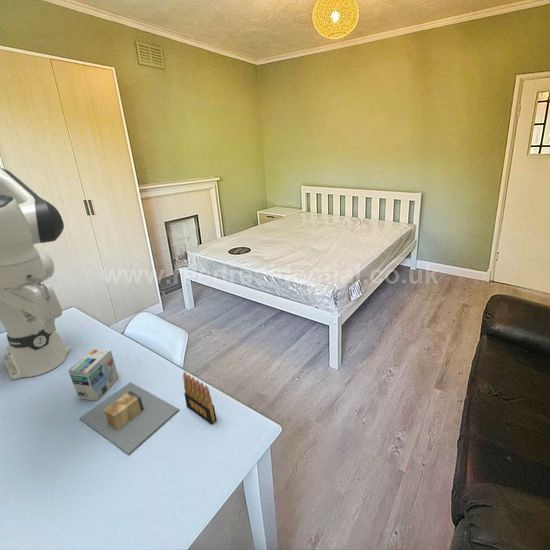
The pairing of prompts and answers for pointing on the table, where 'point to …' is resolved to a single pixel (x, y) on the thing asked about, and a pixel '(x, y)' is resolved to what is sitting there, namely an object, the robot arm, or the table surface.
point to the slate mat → (138, 426)
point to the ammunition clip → (199, 399)
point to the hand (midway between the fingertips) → (40, 326)
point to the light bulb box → (94, 374)
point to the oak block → (123, 409)
